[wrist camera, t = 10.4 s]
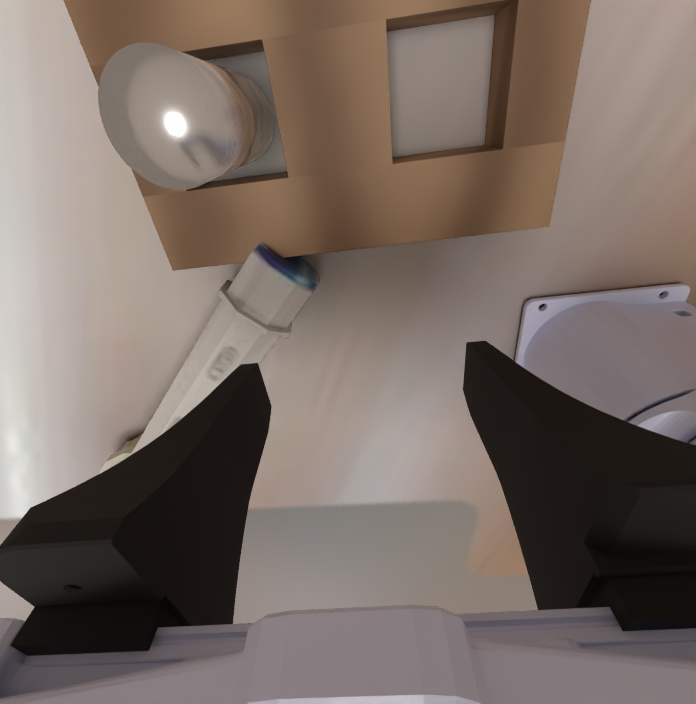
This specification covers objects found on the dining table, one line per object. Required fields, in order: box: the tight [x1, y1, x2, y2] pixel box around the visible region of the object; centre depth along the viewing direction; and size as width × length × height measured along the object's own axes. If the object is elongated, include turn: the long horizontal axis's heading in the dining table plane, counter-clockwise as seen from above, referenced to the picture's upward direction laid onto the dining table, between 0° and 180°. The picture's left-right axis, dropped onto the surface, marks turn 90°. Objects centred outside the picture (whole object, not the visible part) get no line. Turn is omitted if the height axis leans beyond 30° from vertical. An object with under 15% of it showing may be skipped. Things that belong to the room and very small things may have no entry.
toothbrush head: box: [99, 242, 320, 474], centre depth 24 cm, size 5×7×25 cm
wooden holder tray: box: [64, 0, 591, 270], centre depth 16 cm, size 19×12×2 cm, turn 97°
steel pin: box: [98, 42, 274, 190], centre depth 14 cm, size 4×4×8 cm
